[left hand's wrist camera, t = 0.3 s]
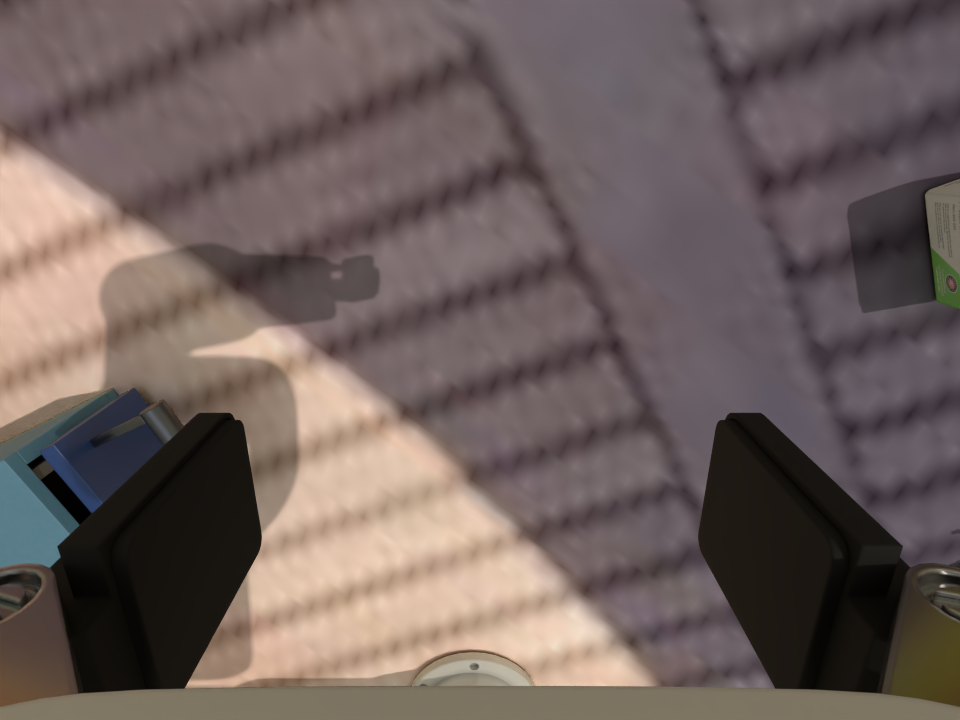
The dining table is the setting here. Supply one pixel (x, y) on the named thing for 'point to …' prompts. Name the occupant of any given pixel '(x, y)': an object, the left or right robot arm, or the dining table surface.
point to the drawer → (104, 452)
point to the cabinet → (36, 491)
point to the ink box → (945, 240)
